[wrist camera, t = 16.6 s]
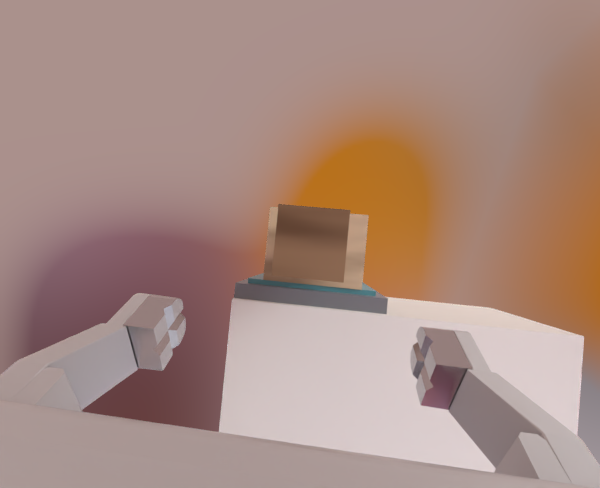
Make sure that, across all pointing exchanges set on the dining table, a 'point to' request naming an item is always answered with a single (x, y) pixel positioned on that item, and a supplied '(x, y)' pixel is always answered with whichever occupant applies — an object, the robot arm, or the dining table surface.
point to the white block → (380, 376)
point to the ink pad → (311, 295)
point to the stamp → (316, 246)
